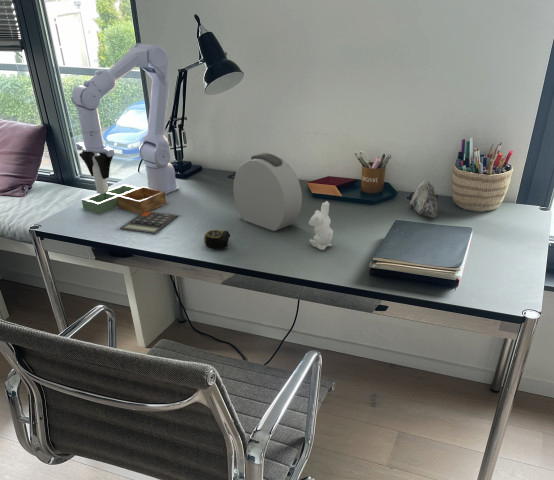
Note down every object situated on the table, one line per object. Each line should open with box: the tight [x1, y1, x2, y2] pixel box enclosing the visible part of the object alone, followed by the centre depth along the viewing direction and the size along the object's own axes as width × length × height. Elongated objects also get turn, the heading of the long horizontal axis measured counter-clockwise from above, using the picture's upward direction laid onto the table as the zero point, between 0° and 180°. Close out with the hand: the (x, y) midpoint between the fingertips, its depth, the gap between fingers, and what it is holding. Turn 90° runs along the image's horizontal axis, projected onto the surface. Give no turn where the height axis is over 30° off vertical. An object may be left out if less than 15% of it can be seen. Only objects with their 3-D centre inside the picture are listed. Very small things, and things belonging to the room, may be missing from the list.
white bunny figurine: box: [308, 200, 334, 251], centre depth 152 cm, size 8×7×12 cm
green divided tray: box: [81, 183, 139, 215], centre depth 183 cm, size 18×8×3 cm, turn 147°
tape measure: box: [203, 229, 231, 250], centre depth 155 cm, size 7×7×4 cm
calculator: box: [119, 211, 178, 235], centre depth 171 cm, size 12×1×15 cm
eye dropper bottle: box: [92, 152, 109, 194], centre depth 175 cm, size 4×6×12 cm
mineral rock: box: [409, 179, 439, 219], centre depth 173 cm, size 13×11×10 cm
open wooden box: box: [117, 185, 167, 215], centre depth 181 cm, size 11×10×4 cm
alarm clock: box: [232, 152, 303, 232], centre depth 165 cm, size 21×8×20 cm, turn 47°
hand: (100, 176), depth 176 cm, fingers closed on eye dropper bottle, 4 cm apart
